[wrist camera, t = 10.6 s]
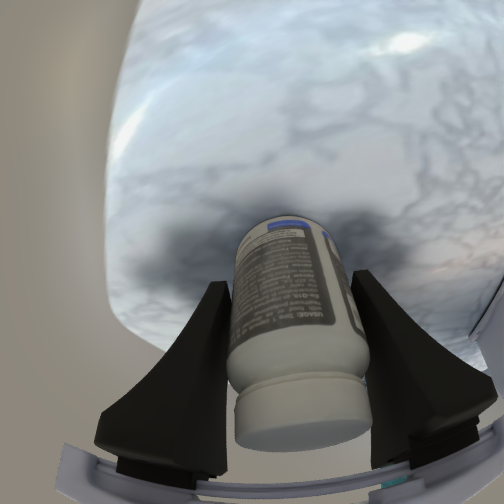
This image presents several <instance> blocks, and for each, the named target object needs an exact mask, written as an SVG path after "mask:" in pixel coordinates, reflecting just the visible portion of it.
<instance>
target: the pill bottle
mask: <svg viewBox="0 0 504 504" xmlns="http://www.w3.org/2000/svg"><path fill="white" fill-rule="evenodd" d="M369 362H370V351H369V346H368V343H367V339H366V336H365V333H364V329H363V326H362V323H361V320H360V316H359V313H358V310H357V307H356V304H355V301H354V297H353V294H352V292H351V289H350V285H349V283H348V279H347V276H346V274H345V271H344V268H343V265H342V262H341V259H340V256H339V254H338V251H337V248H336V246H335V243H334V241H333V239H332V237H331V236H330V235H329V233H328V232H327V231H326V230H325V229H324V228H322V227H321V226H320V225H318V224H316V223H315V222H313V221H310V220H307V219H304V218H300V217H294V216H283V217H277V218H273V219H270V220H267V221H265V222H262V223H260V224H259V225H257V226H255V227H254V228H253V229H251V230H250V231H249V232H248V233H247V235H246V236H245V237H244V238H243V240H242V242H241V243H240V245H239V248H238V251H237V255H236V262H235V273H234V283H233V292H232V305H231V318H230V331H229V340H228V350H227V357H226V371H227V377H228V380H229V382H230V384H231V386H232V387H233V389H234V390H235V391H236V392H237V393H238V394H239V396H238V397H237V400H236V405H235V409H234V412H235V441H236V443H237V444H238V445H240V446H242V447H244V448H248V449H252V450H257V451H265V452H297V451H306V450H314V449H320V448H325V447H329V446H333V445H337V444H340V443H343V442H346V441H349V440H352V439H354V438H356V437H358V436H360V435H362V434H364V433H365V432H366V431H368V430H369V429H370V428H371V426H372V424H373V419H372V413H371V408H370V402H369V396H368V392H367V390H366V384H365V382H364V381H363V380H362V378H363V377H364V375H365V374H366V372H367V370H368V367H369Z"/></svg>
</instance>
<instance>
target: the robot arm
mask: <svg viewBox="0 0 504 504" xmlns="http://www.w3.org/2000/svg"><path fill="white" fill-rule="evenodd" d="M350 289H351V292H352V294H353V297H354V301H355V304H356V307H357V310H358V313H359V316H360V320H361V323H362V326H363V329H364V333H365V336H366V339H367V343H368V346H369V351H370V362H369V367H368V370H367V372H366V374H365V378H366V384H367V392H368V396H369V402H370V408H371V413H372V419H373V424H372V426H371V468H372V470H373V469H377V468H381V467H384V468H381V469H377V470H373V471H369V472H364V473H359V474H354V475H349V476H343V477H338V478H331V479H324V480H316V481H307V482H295V483H280V484H279V483H276V484H240V483H239V484H238V483H222V482H210V481H208V479H209V478H217V476H221V475H223V474H224V473H225V472H226V471H228V470H227V450H226V449H227V448H226V404H227V403H226V402H227V384H228V377H227V371H226V357H227V350H228V340H229V331H230V318H231V305H232V301H231V297H230V293H229V289H228V285H227V281H215V282H211V283H210V284H209V286H208V288H207V290H206V292H205V294H204V296H203V297H202V299H201V301H200V303H199V304H198V306H197V308H196V310H195V311H194V313H193V314H192V316H191V318H190V319H189V321H188V323H187V324H186V326H185V327H184V329H183V330H182V332H181V333H180V334H179V336H178V337H177V339H176V340H175V342H174V343H173V344H172V346H171V347H170V348H169V350H168V351H167V352H166V353H165V355H164V356H163V357H162V358H161V359H160V361H159V362H158V363H157V364H156V365H155V366H154V367H153V369H152V370H151V371H150V372H149V373H148V374H147V375H146V376H145V377H144V378H143V379H142V380H141V381H140V382H139V383H138V384H136V385H135V386H134V387H133V388H132V389H131V390H130V391H129V392H128V393H127V394H126V395H124V396H123V397H122V398H121V399H119V400H118V401H117V402H115V403H114V404H113V405H111V406H110V407H109V408H107V409H106V410H105V411H103V412H102V413H101V416H100V419H99V422H98V426H97V431H96V435H95V440H94V444H95V445H96V446H97V447H99V448H101V449H103V450H105V451H107V452H110V453H112V454H114V455H116V456H118V461H117V463H115V462H112V461H108V460H105V459H102V458H99V457H97V456H96V455H94V454H91V453H89V452H87V451H84V450H82V449H79V448H77V447H74V446H72V445H69V444H67V443H64V445H63V449H62V453H61V458H60V463H59V467H58V472H57V477H56V483H55V490H56V491H58V492H60V493H62V494H63V495H65V496H67V497H69V498H71V499H73V500H74V501H76V502H78V503H80V504H235V503H224V502H213V501H201V500H200V499H199V498H198V496H196V495H203V496H211V497H223V498H238V499H284V498H298V497H310V496H319V495H326V494H333V493H339V492H345V491H350V490H355V489H360V488H364V487H369V486H373V485H377V484H381V483H385V482H388V481H392V480H395V479H398V478H402V477H405V476H408V475H409V476H408V477H407V478H406V480H405V482H402V483H399V484H395V485H392V486H388V487H384V488H381V489H378V490H374V491H370V492H369V493H368V495H369V500H368V501H363V502H358V503H352V504H462V503H464V502H465V501H467V500H468V499H470V498H471V497H473V496H474V495H475V494H477V493H478V492H479V491H481V490H482V489H483V488H485V487H486V486H487V485H489V484H490V483H491V482H493V481H494V480H495V479H496V478H498V477H499V476H500V475H501V474H503V473H504V415H503V416H501V417H500V418H498V419H497V420H495V421H494V422H493V423H492V424H490V425H488V426H487V427H485V428H483V429H481V430H479V431H478V430H477V426H476V425H477V424H478V423H479V422H480V421H479V417H478V415H479V414H481V413H482V412H483V411H484V410H486V409H487V408H488V407H490V406H491V405H492V404H493V403H494V402H495V401H496V400H497V398H498V394H497V391H498V393H499V394H500V396H501V397H502V398H503V399H504V281H503V283H502V285H501V287H500V289H499V291H498V293H497V294H496V296H495V298H494V300H493V301H492V303H491V305H490V306H489V308H488V310H487V311H486V313H485V315H484V316H483V318H482V319H481V321H480V322H479V324H478V325H477V327H476V328H475V330H474V331H473V333H472V334H471V336H470V337H469V341H470V342H474V341H477V344H478V346H479V348H480V350H481V353H482V355H483V357H484V359H485V362H486V364H487V367H488V369H489V372H490V374H491V377H492V378H491V377H490V376H487V375H486V374H484V373H482V372H481V371H479V370H477V369H475V368H473V367H472V366H470V365H469V364H467V363H465V362H464V361H462V360H461V359H459V358H458V357H456V356H455V355H454V354H452V353H451V352H450V351H448V350H447V349H446V348H444V347H443V346H442V345H440V344H439V343H438V342H437V341H436V340H434V339H433V338H432V337H431V336H430V335H429V334H427V333H426V332H425V331H424V330H423V329H422V328H421V327H420V326H419V325H418V324H417V323H416V322H415V321H414V320H413V319H412V318H411V317H410V316H409V315H408V314H407V313H406V312H405V311H404V310H403V309H402V308H401V307H400V306H399V305H398V303H397V302H396V301H395V300H394V299H393V298H392V297H391V296H390V295H389V293H388V292H387V291H386V290H385V289H384V288H383V287H382V285H381V284H380V283H379V282H378V281H377V280H376V278H375V277H374V276H373V275H372V274H371V273H370V272H369V271H368V270H357V271H353V277H352V283H351V288H350ZM493 382H494V383H493ZM494 385H495V386H494ZM495 387H496V389H495ZM496 390H497V391H496ZM392 464H394V465H392ZM389 465H392V466H389ZM385 466H388V467H385ZM194 494H195V495H194Z"/></svg>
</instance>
